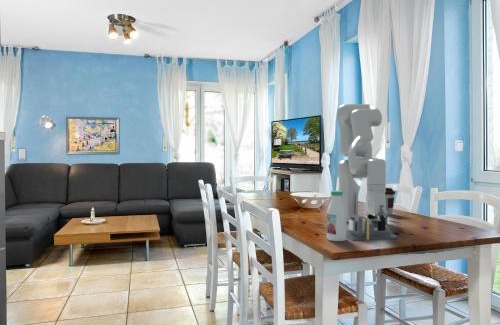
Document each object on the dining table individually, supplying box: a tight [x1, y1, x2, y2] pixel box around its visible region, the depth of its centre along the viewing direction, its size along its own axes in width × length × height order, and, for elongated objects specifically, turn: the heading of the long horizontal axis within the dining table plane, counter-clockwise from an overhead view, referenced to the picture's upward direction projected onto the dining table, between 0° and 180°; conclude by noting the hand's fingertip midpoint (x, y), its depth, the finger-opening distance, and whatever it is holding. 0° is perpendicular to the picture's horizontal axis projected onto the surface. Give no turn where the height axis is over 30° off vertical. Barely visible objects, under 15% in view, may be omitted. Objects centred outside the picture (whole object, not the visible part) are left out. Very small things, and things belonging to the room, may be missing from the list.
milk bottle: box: [326, 190, 347, 242], centre depth 151 cm, size 8×8×20 cm
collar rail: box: [346, 213, 399, 241], centre depth 156 cm, size 12×20×9 cm, turn 98°
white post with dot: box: [348, 218, 379, 231], centre depth 156 cm, size 4×14×4 cm, turn 98°
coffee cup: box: [385, 187, 396, 216], centre depth 209 cm, size 10×10×15 cm
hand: (375, 228), depth 157 cm, fingers open, 9 cm apart
